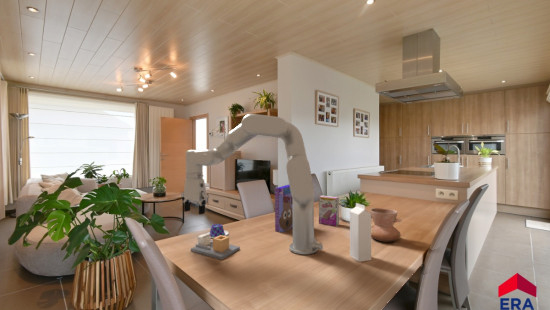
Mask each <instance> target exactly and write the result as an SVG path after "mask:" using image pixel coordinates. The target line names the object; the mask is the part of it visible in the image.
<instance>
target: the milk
mask: <svg viewBox="0 0 550 310" xmlns="http://www.w3.org/2000/svg"><path fill="white" fill-rule="evenodd" d="M371 227H372V218H371V211H370V212H369V211H368V210H367V209H366V206H365V204H361V203H358V202H356V203H355V207H353V208H351V210H349V256H350V257H351V258H352V259H354V260H355V261H357V262H359V263H360V262H365V261H371V260H372V237H371Z"/></svg>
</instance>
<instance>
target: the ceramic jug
mask: <svg viewBox="0 0 550 310" xmlns="http://www.w3.org/2000/svg"><path fill="white" fill-rule="evenodd" d="M370 213H371V220H372V222H373V223H374V224H373V225H371V239H374V240H376V241H379V242H386V243H389V242H395V241H398V240H399V239H400V238H401V235H402V234H401V232H400V230H398V228H396V227H394V225H395V223H401V222H403V220H402V219H400V218H397V217H398V211H397V210H394V209H390V208H389V209H388V208H382V207H381V208H380V207H378V208H376V207H374V208H370Z"/></svg>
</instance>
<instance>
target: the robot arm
mask: <svg viewBox="0 0 550 310" xmlns="http://www.w3.org/2000/svg"><path fill="white" fill-rule="evenodd" d="M240 122H241V123H240V124H239V125H237V126H236V127H235V128H233V129H231V130H230V131H229V132H228V133H227V134H226V138H225V139H224V140H223V142H221V143H220V144H219V145H218V146H216V147H214V148H213V149H201V150H200V149H189V150H186V151H185V180H184V181H185V182H184V186H183V187H184V188H183V189H184V190H183V191H182V192H181V193H180V195H181V199H182V202H183V212H185V213H186V212H190V211H191V202H190V201H192V202H193V201H194V202H197V203H198V204H199V205H198V214H199V215H204V214H205V213H206V208H205V207H206V205H207V203H208V200H209V195H208V194H207V193H206V184H205V179H204V178H203V177H204V174H203V166H205V167H212V166H217V165H219V164H221V163H222V162H223V161H225V160H226V159H228V158H229V157H230V156H232V155H233V154H235V152H237V151H238V150H239V149H240V148H241V147H243V146H244V145H245V144H247V143H248V142H250V141H251V140H252V139H254V138H255V137H256V136H263V137H264V136H265V137H270V138H271V137H272V138H277V139H281V140H282V142H283V144H284V147H285V151H286V157H287V158H286V159H287V163H286V165H285V167H286V168H285V169H286V174H287V179H288V185H290V191H291V195H292V198H293V227H292V243H290V245H289V251H290V252H291V253H294V254H297V255H312V254H315V253H316V252H317V251H318V250H324V249H323V248H324V246H323V243H321V242H317V239H316V238H315V188H314V183H313V177H312V172H311V167H310V162H309V160H308V157H307V153H306V147H305V143H304V137H303V136H302V133H301V132H300V130H299V129H298V127H296V126H295V125H294V124H293V123H291V122H288V121H286V120H285V119H284V118H282V117H280V116H274V115H265V114H258V113H257V114H255V113H248V114H246V115H245V116H243V118H242V120H241V121H240Z"/></svg>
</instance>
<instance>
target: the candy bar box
mask: <svg viewBox="0 0 550 310" xmlns="http://www.w3.org/2000/svg"><path fill="white" fill-rule="evenodd" d="M318 224H321V225H327V226H333V227H338V226H339V225H340V197H339V196H330V195H320V196H318Z"/></svg>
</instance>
